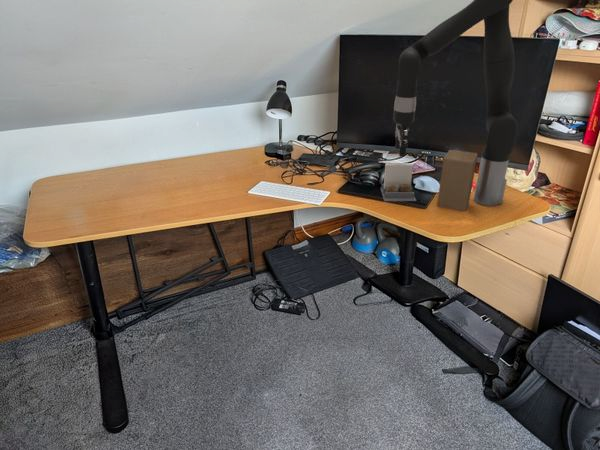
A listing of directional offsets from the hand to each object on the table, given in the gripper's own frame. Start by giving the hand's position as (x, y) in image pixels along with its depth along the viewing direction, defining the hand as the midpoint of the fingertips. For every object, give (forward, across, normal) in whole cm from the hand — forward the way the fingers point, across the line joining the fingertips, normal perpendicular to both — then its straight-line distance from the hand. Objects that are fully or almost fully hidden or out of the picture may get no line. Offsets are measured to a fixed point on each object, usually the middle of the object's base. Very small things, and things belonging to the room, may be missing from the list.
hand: (400, 152), depth 170 cm
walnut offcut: (+16, -4, -3) cm, 17 cm away
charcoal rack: (+17, -3, 0) cm, 18 cm away
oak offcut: (+16, -4, +2) cm, 17 cm away
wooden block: (+17, -11, -19) cm, 28 cm away
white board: (+16, 0, 0) cm, 16 cm away
